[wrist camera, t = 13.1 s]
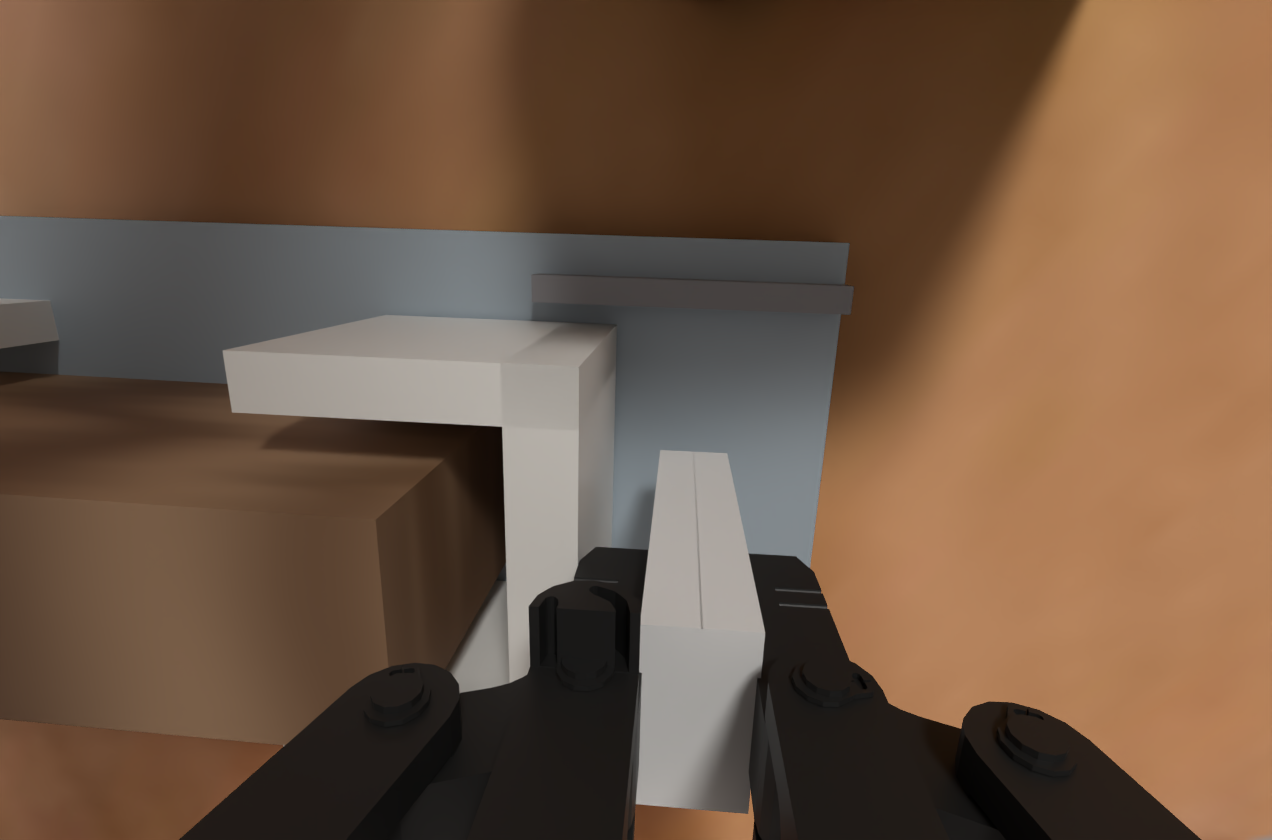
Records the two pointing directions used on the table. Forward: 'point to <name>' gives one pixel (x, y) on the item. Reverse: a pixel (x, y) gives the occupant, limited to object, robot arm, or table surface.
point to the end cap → (472, 395)
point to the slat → (227, 554)
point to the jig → (482, 289)
